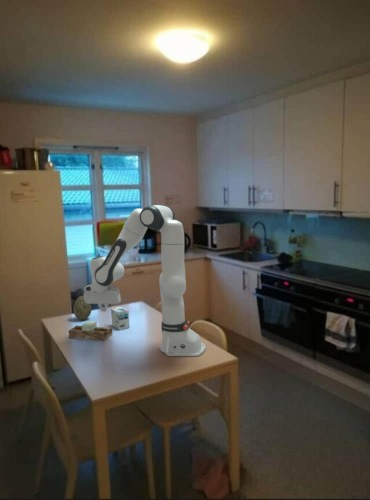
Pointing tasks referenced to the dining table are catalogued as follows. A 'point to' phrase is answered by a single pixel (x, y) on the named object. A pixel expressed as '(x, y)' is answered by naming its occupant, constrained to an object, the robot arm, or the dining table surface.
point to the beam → (91, 333)
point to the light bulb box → (120, 318)
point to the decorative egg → (81, 308)
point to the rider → (89, 326)
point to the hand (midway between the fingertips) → (103, 311)
